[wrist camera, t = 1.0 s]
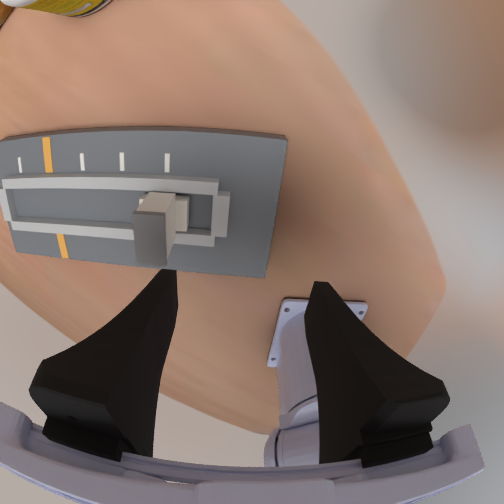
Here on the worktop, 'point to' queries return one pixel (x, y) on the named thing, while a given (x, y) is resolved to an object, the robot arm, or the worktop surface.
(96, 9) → the supplement bottle
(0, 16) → the pastry
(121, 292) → the worktop surface
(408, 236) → the worktop surface
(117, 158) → the console
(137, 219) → the fader tab
